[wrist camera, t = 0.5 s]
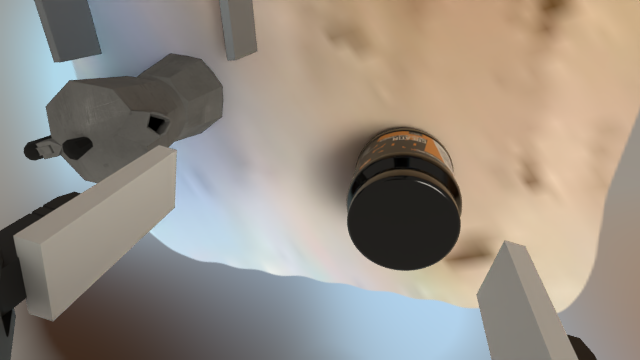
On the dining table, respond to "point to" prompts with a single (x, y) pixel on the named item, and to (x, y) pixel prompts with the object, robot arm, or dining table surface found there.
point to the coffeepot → (128, 115)
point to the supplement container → (404, 201)
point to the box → (81, 40)
